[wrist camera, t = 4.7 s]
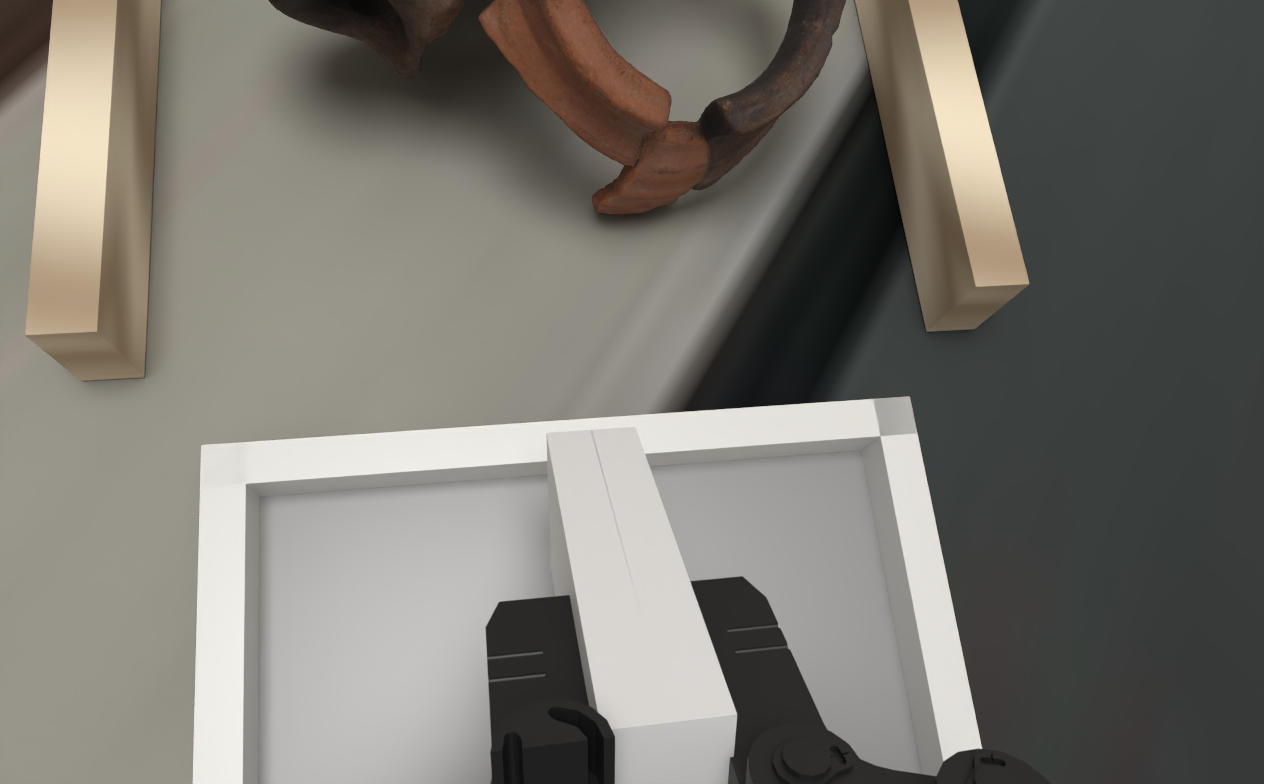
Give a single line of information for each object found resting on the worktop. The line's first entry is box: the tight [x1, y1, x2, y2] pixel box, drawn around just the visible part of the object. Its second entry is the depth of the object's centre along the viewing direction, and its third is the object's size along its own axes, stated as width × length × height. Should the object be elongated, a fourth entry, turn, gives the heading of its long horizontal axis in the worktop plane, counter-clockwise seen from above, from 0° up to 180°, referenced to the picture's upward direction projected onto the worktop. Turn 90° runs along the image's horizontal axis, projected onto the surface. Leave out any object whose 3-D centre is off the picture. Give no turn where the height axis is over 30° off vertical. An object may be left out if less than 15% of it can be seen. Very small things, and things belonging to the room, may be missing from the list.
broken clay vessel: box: [269, 0, 846, 214], centre depth 21 cm, size 12×10×8 cm
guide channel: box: [25, 0, 1029, 381], centre depth 22 cm, size 14×19×2 cm
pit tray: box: [193, 396, 982, 784], centre depth 18 cm, size 10×14×2 cm
